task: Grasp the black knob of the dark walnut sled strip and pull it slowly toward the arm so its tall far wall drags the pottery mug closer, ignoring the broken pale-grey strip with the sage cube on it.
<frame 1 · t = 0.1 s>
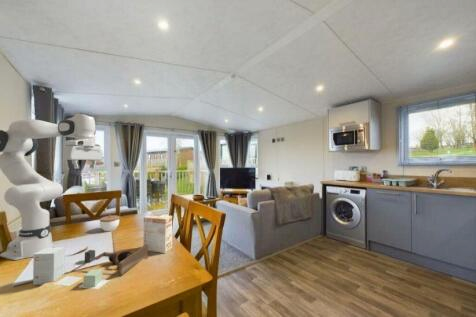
hand: (84, 168, 108), 48 cm above the table, fingers open, 8 cm apart
sage cube: (93, 283, 82), point 1 cm above the table, touching broken strip
broken strip: (80, 284, 83), on the table
sled strip: (111, 258, 99), point 4 cm above the table, slide at 0.0 cm
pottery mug: (121, 266, 98), on the table
small box: (49, 280, 86), on the table
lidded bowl: (109, 230, 149), on the table
coffeecake box: (157, 249, 117), on the table
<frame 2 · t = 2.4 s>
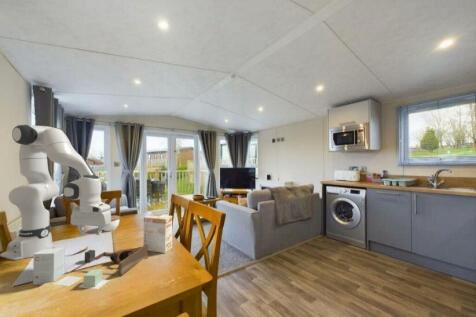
hand: (90, 234, 101), 15 cm above the table, fingers open, 8 cm apart
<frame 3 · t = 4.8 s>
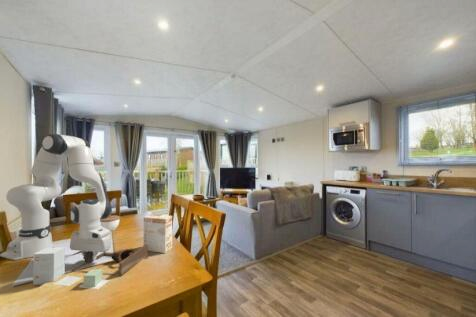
hand: (89, 259, 100), 2 cm above the table, fingers closed on sled strip, 3 cm apart
sled strip: (111, 258, 99), point 4 cm above the table, slide at 0.0 cm, touching gripper
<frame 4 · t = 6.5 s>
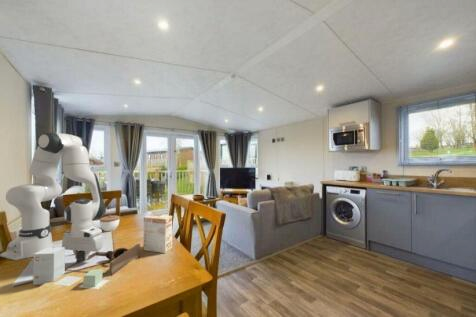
hand: (81, 258, 101), 2 cm above the table, fingers open, 3 cm apart
sled strip: (102, 257, 99), point 3 cm above the table, slide at 4.7 cm, touching gripper, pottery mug
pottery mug: (117, 263, 101), on the table, touching sled strip
everything else where it was.
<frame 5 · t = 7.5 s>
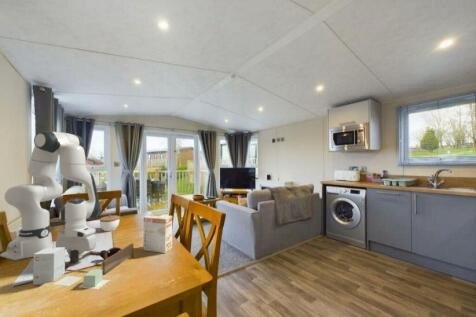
hand: (75, 257, 102), 2 cm above the table, fingers closed on sled strip, 3 cm apart
sled strip: (96, 256, 100), point 4 cm above the table, slide at 8.4 cm, touching gripper, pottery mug
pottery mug: (111, 262, 102), on the table, touching sled strip
everything else where it was.
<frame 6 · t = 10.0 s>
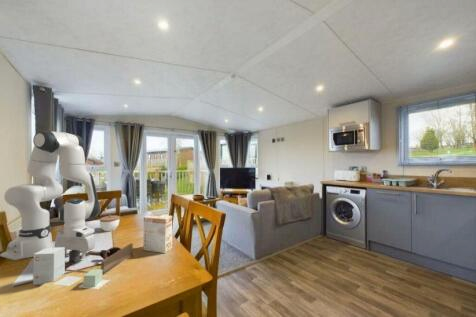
hand: (74, 257, 102), 2 cm above the table, fingers open, 8 cm apart
sled strip: (95, 256, 100), point 4 cm above the table, slide at 8.9 cm
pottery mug: (111, 262, 102), on the table
everything else where it was.
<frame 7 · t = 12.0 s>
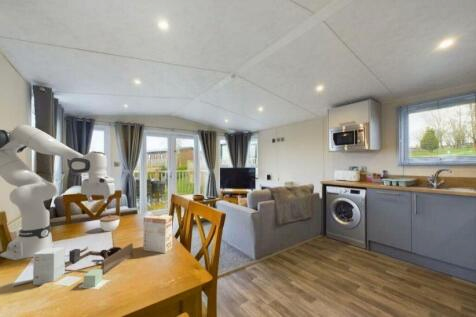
hand: (97, 202, 117), 27 cm above the table, fingers open, 8 cm apart
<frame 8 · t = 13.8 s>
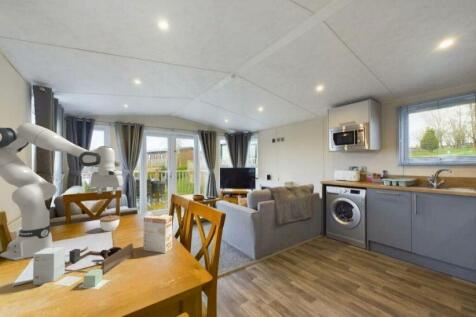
hand: (106, 194, 124), 31 cm above the table, fingers open, 8 cm apart
nothing on the table moved.
at the end: sled strip slide at 8.8 cm; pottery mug inside the target area (3.6 cm from its centre), on the table; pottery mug on the table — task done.
